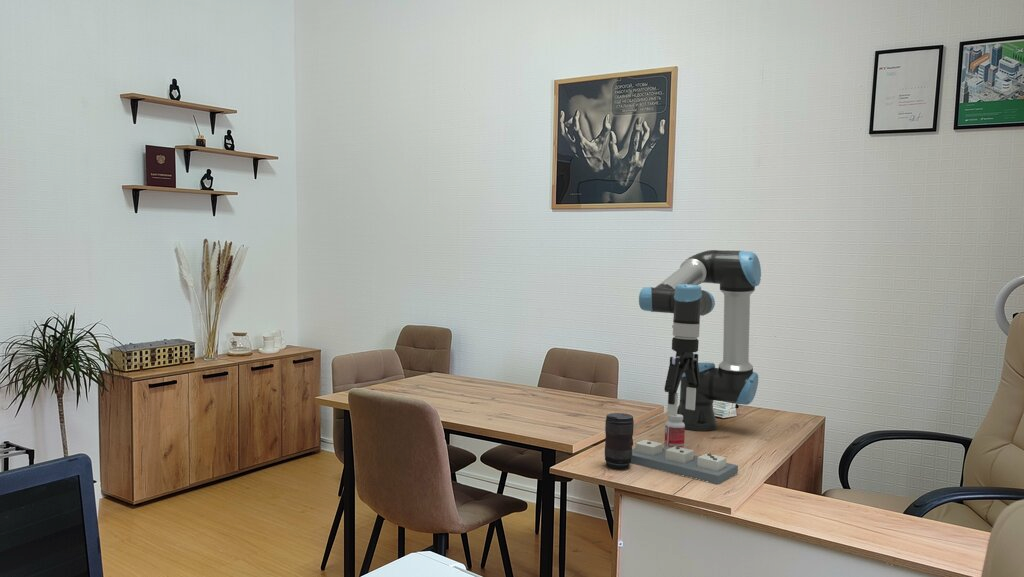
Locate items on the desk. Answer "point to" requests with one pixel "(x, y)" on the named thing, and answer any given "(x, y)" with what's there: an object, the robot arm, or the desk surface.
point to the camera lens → (618, 440)
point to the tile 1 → (648, 447)
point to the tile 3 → (711, 462)
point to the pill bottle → (674, 432)
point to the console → (684, 467)
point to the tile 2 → (679, 454)
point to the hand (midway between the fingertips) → (681, 412)
